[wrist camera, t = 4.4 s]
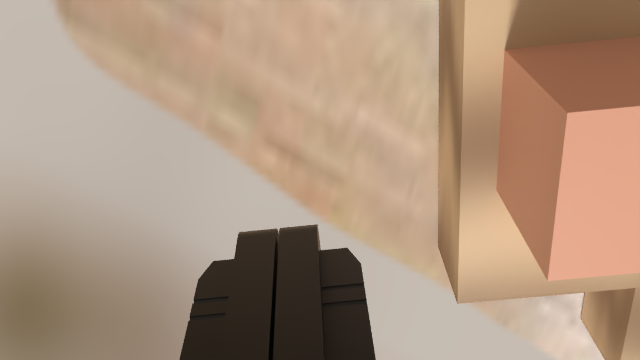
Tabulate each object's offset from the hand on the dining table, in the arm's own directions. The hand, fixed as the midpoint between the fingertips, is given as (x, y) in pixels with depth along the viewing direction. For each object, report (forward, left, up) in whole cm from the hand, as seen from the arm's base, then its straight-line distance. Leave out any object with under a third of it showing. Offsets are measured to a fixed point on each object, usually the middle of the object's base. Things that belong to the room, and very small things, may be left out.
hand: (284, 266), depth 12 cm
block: (0, +8, -5) cm, 9 cm away
